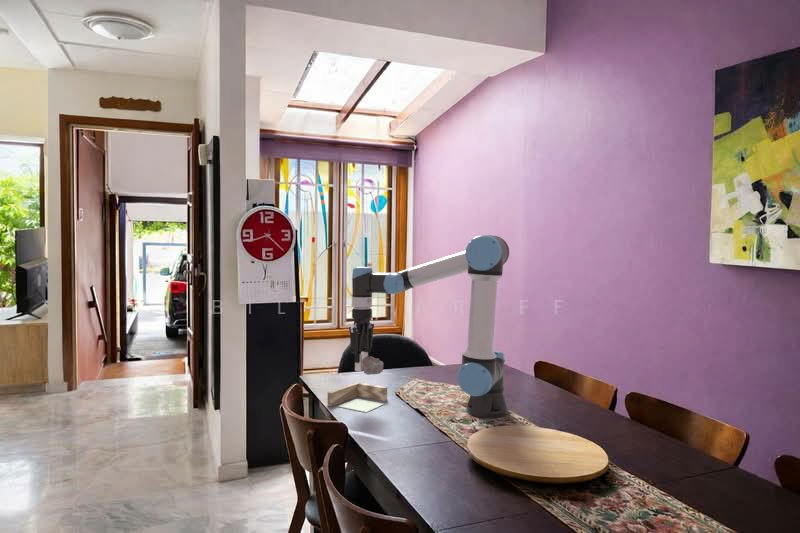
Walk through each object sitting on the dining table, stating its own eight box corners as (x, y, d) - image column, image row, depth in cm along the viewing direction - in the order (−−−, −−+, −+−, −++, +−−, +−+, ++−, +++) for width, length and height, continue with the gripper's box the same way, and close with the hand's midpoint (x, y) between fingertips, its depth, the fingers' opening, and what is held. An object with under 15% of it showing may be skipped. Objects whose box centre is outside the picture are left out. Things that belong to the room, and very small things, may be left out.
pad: (384, 404, 201) (384, 403, 201) (366, 412, 191) (366, 411, 191) (356, 399, 208) (356, 398, 207) (337, 406, 197) (337, 406, 197)
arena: (387, 399, 207) (387, 387, 207) (359, 411, 191) (360, 398, 191) (356, 394, 215) (356, 381, 215) (327, 405, 199) (327, 392, 199)
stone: (353, 370, 195) (354, 355, 196) (371, 370, 200) (372, 354, 200) (366, 376, 187) (368, 359, 187) (385, 375, 192) (387, 359, 192)
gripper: (357, 310, 189) (357, 375, 190) (382, 306, 203) (381, 367, 204) (340, 309, 193) (340, 372, 194) (366, 305, 207) (365, 364, 207)
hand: (361, 369), depth 199 cm, fingers closed on stone, 3 cm apart
